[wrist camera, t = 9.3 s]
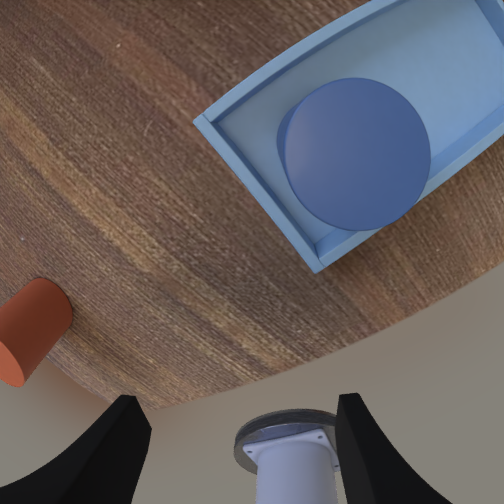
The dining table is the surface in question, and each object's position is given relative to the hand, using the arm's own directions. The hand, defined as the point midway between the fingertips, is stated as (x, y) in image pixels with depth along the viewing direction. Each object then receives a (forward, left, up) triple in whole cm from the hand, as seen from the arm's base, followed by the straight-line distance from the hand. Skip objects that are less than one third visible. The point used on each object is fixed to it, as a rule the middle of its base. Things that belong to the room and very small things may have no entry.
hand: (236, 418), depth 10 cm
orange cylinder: (+4, +15, -9) cm, 18 cm away
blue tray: (+8, -12, -9) cm, 17 cm away
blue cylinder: (+6, -7, -9) cm, 13 cm away
